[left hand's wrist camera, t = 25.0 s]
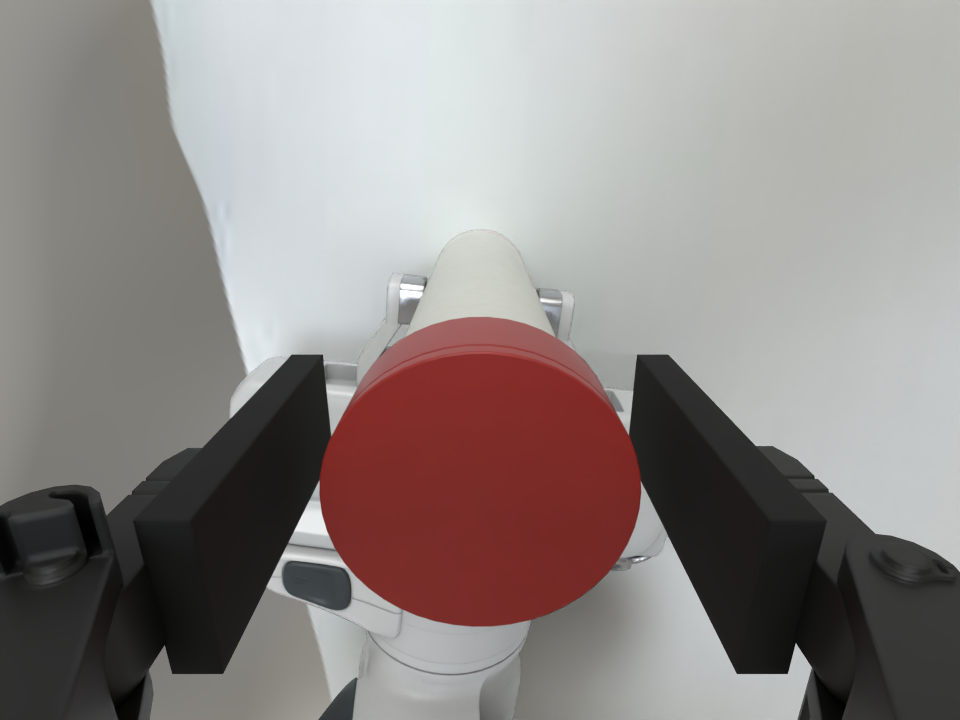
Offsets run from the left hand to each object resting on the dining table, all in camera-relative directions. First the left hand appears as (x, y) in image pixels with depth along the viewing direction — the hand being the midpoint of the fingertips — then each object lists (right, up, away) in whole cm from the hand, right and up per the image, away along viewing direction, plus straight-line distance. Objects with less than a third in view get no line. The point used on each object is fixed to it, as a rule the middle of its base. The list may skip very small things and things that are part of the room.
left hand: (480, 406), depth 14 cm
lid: (0, -1, -4) cm, 4 cm away
